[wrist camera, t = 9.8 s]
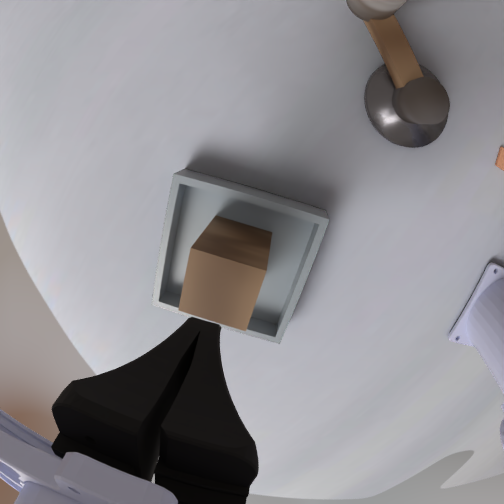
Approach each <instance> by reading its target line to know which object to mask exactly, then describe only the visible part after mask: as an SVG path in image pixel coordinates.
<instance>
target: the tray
mask: <svg viewBox="0 0 504 504" xmlns="http://www.w3.org/2000/svg"><path fill="white" fill-rule="evenodd" d="M216 215H217V216H220V217H223V218H227V219H230V220H234V221H237V222H240V223H244V224H247V225H250V226H254V227H257V228H260V229H263V230H267V231H270V232H272V238H271V245H270V252H269V258H268V265H267V271H266V274H265V277H264V280H263V283H262V286H261V289H260V292H259V295H258V298H257V301H256V304H255V306H254V309H253V312H252V315H251V318H250V321H249V324H248V327H247V330H246V331H243V330H239V329H236V328H233V327H229V326H226V325H223V324H219V323H216V322H213V321H210V320H206V319H203V318H200V317H197V316H194V315H191V314H188V313H185V312H182V311H179V310H178V309H179V304H180V298H181V293H182V288H183V283H184V278H185V273H186V268H187V263H188V258H189V253H190V248H191V247H192V245H193V244H194V243H195V241H196V240H197V239H198V237H199V236H200V235H201V234H202V232H203V231H204V230H205V228H206V227H207V226H208V225H209V223H210V222H211V221H212V219H213V218H214V217H215V216H216ZM329 220H330V219H329V217H328V215H327V213H326V210H323V209H320V208H317V207H313V206H310V205H307V204H304V203H301V202H298V201H295V200H292V199H288V198H285V197H282V196H279V195H275V194H272V193H269V192H265V191H262V190H259V189H255V188H252V187H249V186H245V185H242V184H238V183H235V182H231V181H228V180H224V179H220V178H217V177H213V176H209V175H206V174H202V173H198V172H195V171H191V170H187V169H183V170H181V171H179V172H176V173H174V175H173V180H172V184H171V189H170V194H169V199H168V204H167V210H166V215H165V221H164V226H163V232H162V238H161V244H160V250H159V256H158V263H157V269H156V276H155V284H154V291H153V299H152V305H154V306H157V307H160V308H163V309H166V310H169V311H172V312H175V313H178V314H181V315H184V316H187V317H195V318H198V319H202V320H205V321H209V322H212V323H216V324H219V325H220V326H221V327H222V328H225V329H228V330H232V331H235V332H239V333H242V334H246V335H249V336H253V337H256V338H260V339H263V340H267V341H271V342H274V343H278V344H280V342H281V340H282V337H283V335H284V333H285V330H286V328H287V326H288V323H289V321H290V319H291V316H292V314H293V312H294V309H295V307H296V304H297V302H298V300H299V297H300V295H301V292H302V290H303V287H304V285H305V282H306V280H307V277H308V275H309V272H310V270H311V267H312V265H313V262H314V260H315V257H316V254H317V252H318V249H319V247H320V244H321V241H322V239H323V236H324V233H325V231H326V228H327V225H328V223H329Z"/></svg>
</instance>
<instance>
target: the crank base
mask: <svg viewBox="0 0 504 504" xmlns="http://www.w3.org/2000/svg"><path fill="white" fill-rule="evenodd" d="M418 65H419V67H420V69H421V71H422V74H423V76H424V77H429V78H432V79H435V80H436V81H438V79H437V78H436V77H435V76H434V75H433V74H432V73H431V72H430V71H429V70H428V69H426V68H425V67H423V66H422V65H420V64H418ZM438 82H439V81H438ZM439 83H440V82H439ZM395 88H396V87H395V85H394V82H393V80H392V78H391V76H390V73H389V71H388V69H387V67H386V64H384V65H383V66H381V67H380V68H378V69H377V70H376V71H375V72H374V73H373V74H372V75H371V77H370V78H369V80H368V82H367V85H366V89H365V96H364V99H365V108H366V111H367V115H368V117H369V119H370V121H371V123H372V125H373V126H374V127H375V129H376V130H377V131H378V132H379V133H380V134H381V135H382V136H383V137H384V138H386V139H387V140H389V141H390V142H392V143H394V144H397V145H400V146H405V147H412V148H415V147H422V146H425V145H428V144H430V143H431V142H433V141H434V140H436V139H437V138H438V137H439V135H440V134H441V133H442V131H443V129H444V127H445V125H446V122H447V117H448V115H447V116H446V118H445V119H444V120H443V121H442V122H440V123H438V124H411V123H407V122H405V121H403V120H402V119H401V118H400V117H399V116H398V115H397V114H396V112H395V110H394V108H393V105H392V95H393V92H394V90H395Z"/></svg>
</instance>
